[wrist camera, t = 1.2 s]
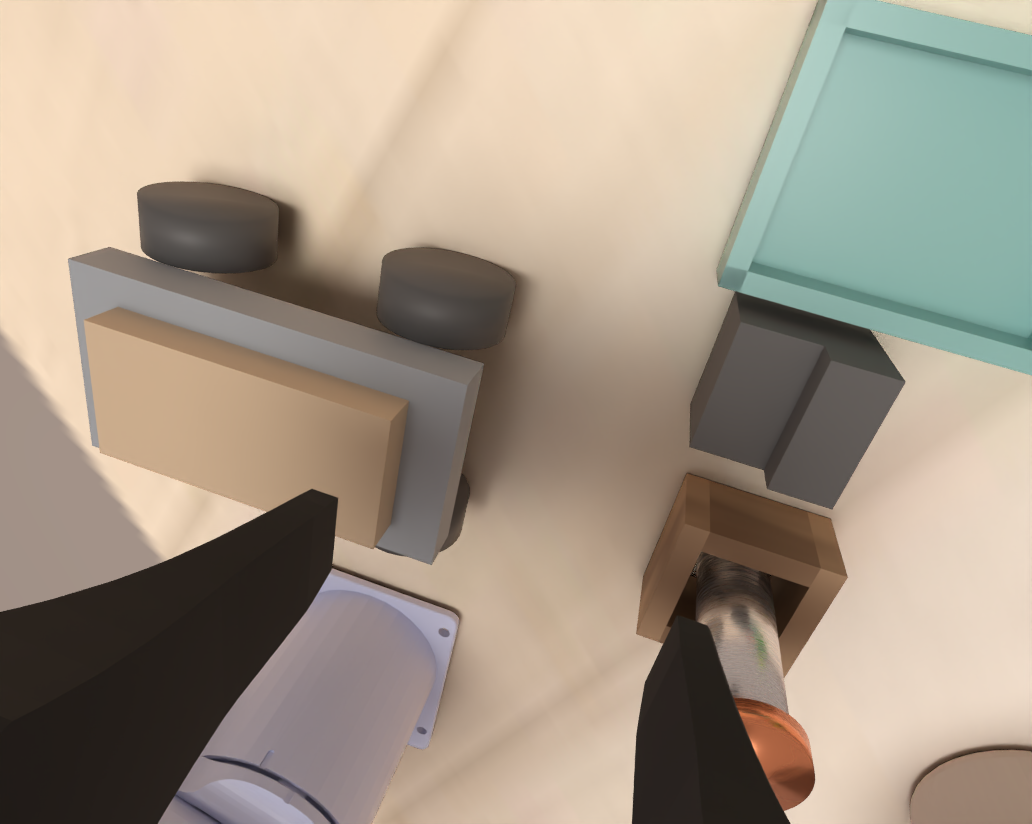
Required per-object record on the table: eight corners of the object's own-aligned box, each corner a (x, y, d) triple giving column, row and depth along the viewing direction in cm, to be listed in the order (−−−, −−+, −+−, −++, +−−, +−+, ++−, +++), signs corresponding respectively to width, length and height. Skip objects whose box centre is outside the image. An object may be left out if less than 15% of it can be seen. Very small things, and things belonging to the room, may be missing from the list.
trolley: (529, 272, 21) (463, 346, 15) (475, 505, 26) (409, 629, 20) (196, 175, 22) (20, 209, 17) (203, 412, 27) (68, 503, 21)
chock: (810, 439, 21) (831, 509, 18) (690, 402, 22) (689, 464, 18) (868, 327, 19) (905, 381, 16) (735, 290, 20) (742, 335, 16)
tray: (1029, 357, 19) (1059, 383, 17) (716, 269, 20) (718, 286, 18) (1210, 87, 15) (1268, 88, 14) (819, -2, 16) (831, -11, 15)
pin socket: (771, 621, 25) (779, 684, 22) (643, 577, 25) (636, 634, 23) (830, 519, 22) (847, 577, 20) (686, 473, 23) (684, 523, 20)
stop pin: (757, 595, 24) (782, 830, 17) (673, 567, 25) (660, 784, 17) (793, 530, 23) (838, 756, 15) (703, 501, 23) (703, 707, 16)
